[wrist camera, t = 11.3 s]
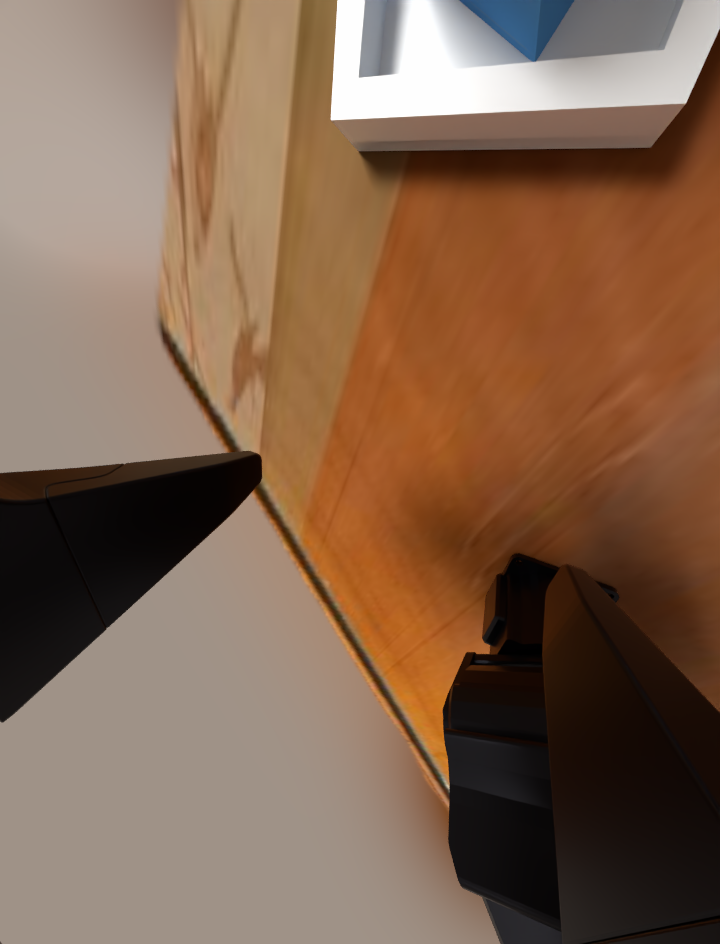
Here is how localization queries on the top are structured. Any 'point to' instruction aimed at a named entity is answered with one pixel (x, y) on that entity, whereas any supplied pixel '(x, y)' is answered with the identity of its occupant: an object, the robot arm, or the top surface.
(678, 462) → the top surface
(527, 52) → the perfume bottle
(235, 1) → the top surface
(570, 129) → the tray
